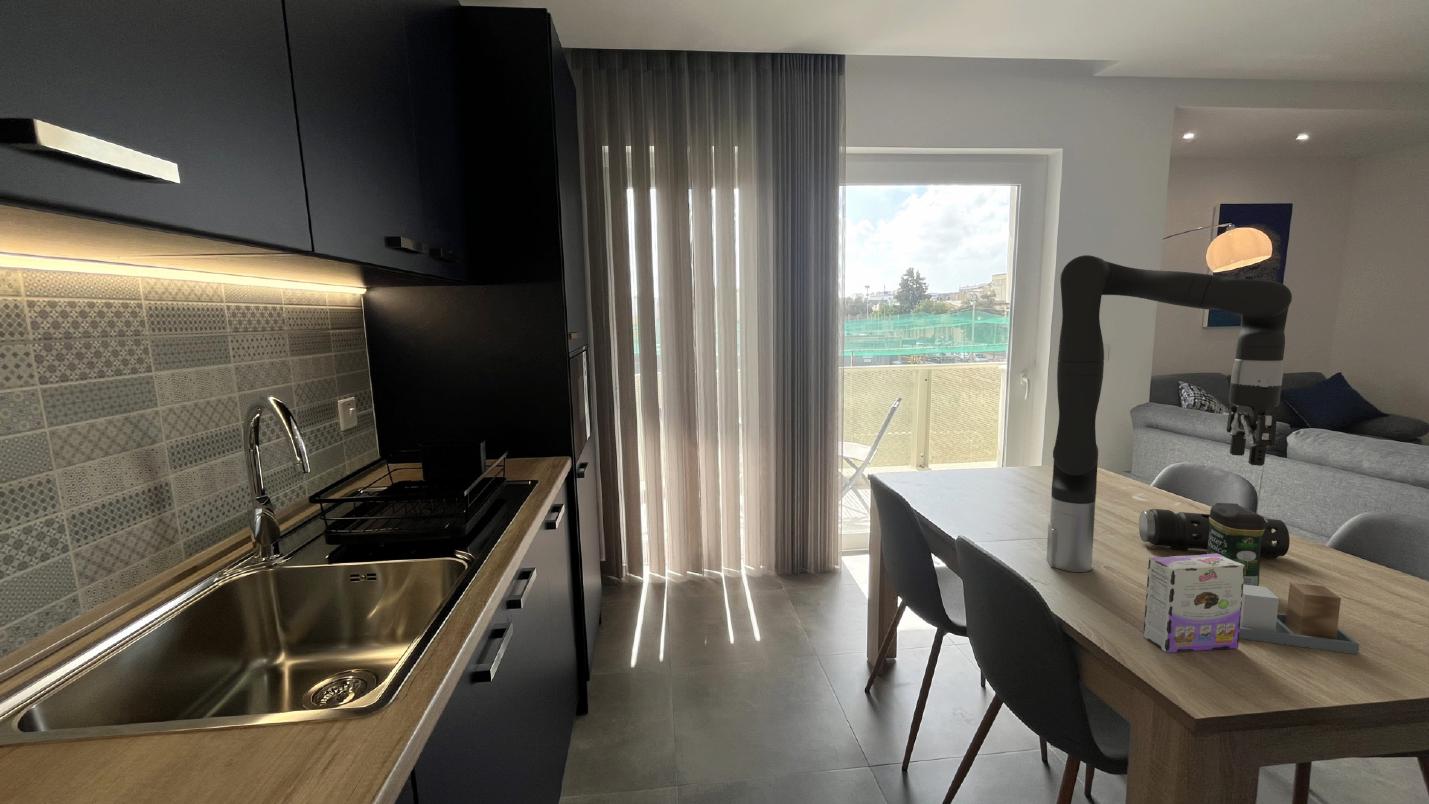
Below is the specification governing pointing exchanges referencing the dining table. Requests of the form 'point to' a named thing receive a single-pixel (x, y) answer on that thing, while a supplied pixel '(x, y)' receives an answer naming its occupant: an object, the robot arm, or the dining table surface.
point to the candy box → (1193, 602)
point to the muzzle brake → (1202, 532)
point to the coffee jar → (1237, 537)
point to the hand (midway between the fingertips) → (1246, 459)
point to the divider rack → (1281, 624)
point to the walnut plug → (1312, 611)
